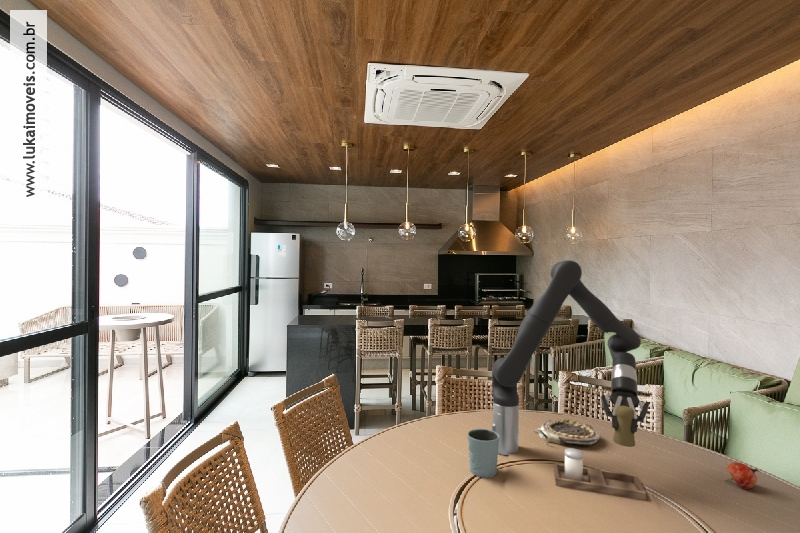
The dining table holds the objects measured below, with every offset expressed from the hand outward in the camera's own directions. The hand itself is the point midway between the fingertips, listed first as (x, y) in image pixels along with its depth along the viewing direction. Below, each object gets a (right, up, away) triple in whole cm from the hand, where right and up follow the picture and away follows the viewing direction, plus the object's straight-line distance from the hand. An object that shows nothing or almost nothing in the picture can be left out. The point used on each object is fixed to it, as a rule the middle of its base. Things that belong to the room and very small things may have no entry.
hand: (624, 430), depth 124 cm
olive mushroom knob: (+1, -5, +2) cm, 5 cm away
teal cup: (-41, -17, +9) cm, 46 cm away
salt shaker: (-15, -16, +2) cm, 22 cm away
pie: (-1, -19, +37) cm, 42 cm away
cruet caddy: (-8, -17, 0) cm, 19 cm away
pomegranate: (+37, -18, +2) cm, 42 cm away
